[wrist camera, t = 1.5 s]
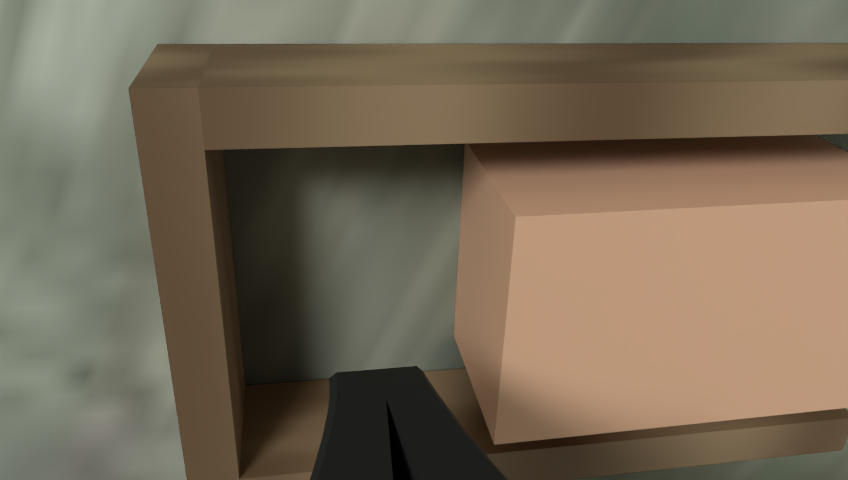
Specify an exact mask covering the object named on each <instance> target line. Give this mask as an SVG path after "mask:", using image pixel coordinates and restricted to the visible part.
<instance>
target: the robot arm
mask: <svg viewBox="0 0 848 480" xmlns="http://www.w3.org/2000/svg"><path fill="white" fill-rule="evenodd" d="M310 480H508V479H507V478H506V477H505V476H504V474H503V473H502V472H501V471H500V470H499V469H498V468H497V467H496V466H495V465H494V463H493V462H492V461H491V460H490V459H489V458H488V456H487V455H486V454H485V453H484V452H483V450H482V449H481V448H480V447H479V446H478V445H477V443H476V442H475V441H474V440H473V439H472V438H471V436H470V435H469V434H468V433H467V431H466V430H465V429H464V428H463V426H462V425H461V424H460V423H459V421H458V420H457V419H456V417H455V416H454V415H453V413H452V412H451V411H450V410H449V408H448V407H447V406H446V404H445V403H444V401H443V400H442V399H441V397H440V396H439V394H438V393H437V392H436V390H435V389H434V387H433V386H432V384H431V383H430V381H429V380H428V378H427V377H426V375H425V374H424V372H423V371H422V370H420V369H419V368H418V367H417V366H413V367H401V368H388V369H376V370H363V371H351V372H338V373H336V374H335V375H333V376H332V377H331V378H330V379H329V405H328V412H327V417H326V422H325V427H324V431H323V436H322V440H321V443H320V447H319V450H318V454H317V457H316V461H315V464H314V468H313V471H312V474H311V477H310Z"/></svg>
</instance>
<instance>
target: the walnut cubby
mask: <svg viewBox="0 0 848 480" xmlns="http://www.w3.org/2000/svg"><path fill="white" fill-rule="evenodd" d="M129 95H130V102H131V109H132V115H133V122H134V129H135V135H136V142H137V149H138V155H139V162H140V169H141V176H142V182H143V189H144V196H145V202H146V209H147V216H148V222H149V229H150V236H151V242H152V249H153V256H154V263H155V269H156V276H157V283H158V289H159V296H160V303H161V309H162V316H163V323H164V329H165V336H166V343H167V350H168V356H169V363H170V370H171V376H172V383H173V390H174V396H175V403H176V410H177V416H178V423H179V430H180V436H181V443H182V450H183V457H184V463H185V470H186V477H187V480H310V477H311V474H312V471H313V468H314V464H315V461H316V457H317V454H318V450H319V447H320V443H321V440H322V436H323V431H324V427H325V422H326V417H327V412H328V405H329V379H323V380H310V381H297V382H285V383H272V384H259V385H247V386H245V378H244V367H243V356H242V345H241V335H240V324H239V313H238V303H237V292H236V281H235V271H234V260H233V249H232V238H231V228H230V217H229V206H228V196H227V185H226V174H225V163H224V153H223V150H228V149H268V148H307V147H347V146H386V145H425V144H465V143H504V142H544V141H583V140H623V139H662V138H701V137H741V136H780V135H820V134H848V43H644V44H157V46H156V47H155V49H154V50H153V52H152V54H151V55H150V57H149V58H148V60H147V61H146V63H145V64H144V66H143V67H142V69H141V70H140V72H139V73H138V75H137V76H136V78H135V79H134V81H133V82H132V84H131V86H130V87H129ZM424 374H425V375H426V377H427V378H428V380H429V381H430V383H431V384H432V386H433V387H434V389H435V390H436V392H437V393H438V394H439V396H440V397H441V399H442V400H443V401H444V403H445V404H446V406H447V407H448V408H449V410H450V411H451V412H452V413H453V415H454V416H455V417H456V419H457V420H458V421H459V423H460V424H461V425H462V426H463V428H464V429H465V430H466V431H467V433H468V434H469V435H470V436H471V438H472V439H473V440H474V441H475V442H476V443H477V445H478V446H479V447H480V448H481V449H482V450H483V452H484V453H485V454H486V455H487V456H488V458H489V459H490V460H491V461H492V462H493V463H494V465H495V466H496V467H497V468H498V469H499V470H500V471H501V472H502V473H503V474H504V476H505V477H506V478H507V479H508V480H570V479H580V478H589V477H598V476H607V475H617V474H626V473H635V472H644V471H654V470H663V469H672V468H682V467H691V466H700V465H709V464H719V463H728V462H737V461H746V460H756V459H765V458H774V457H783V456H793V455H802V454H811V453H820V452H830V451H839V450H842V449H843V446H844V444H845V441H846V439H847V436H848V411H847V410H846V409H845V408H841V409H832V410H822V411H812V412H803V413H793V414H784V415H774V416H765V417H755V418H745V419H736V420H726V421H717V422H707V423H698V424H688V425H679V426H669V427H659V428H650V429H640V430H631V431H621V432H612V433H602V434H592V435H583V436H573V437H564V438H554V439H545V440H535V441H525V442H516V443H506V444H497V445H494V443H493V440H492V438H491V435H490V432H489V430H488V427H487V424H486V421H485V419H484V416H483V413H482V410H481V408H480V405H479V402H478V400H477V397H476V394H475V391H474V389H473V386H472V383H471V381H470V378H469V375H468V372H467V370H466V368H462V369H450V370H437V371H424Z"/></svg>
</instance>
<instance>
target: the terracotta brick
mask: <svg viewBox="0 0 848 480" xmlns="http://www.w3.org/2000/svg"><path fill="white" fill-rule="evenodd" d="M454 337H455V340H456V343H457V345H458V348H459V351H460V353H461V356H462V359H463V362H464V364H465V367H466V370H467V372H468V375H469V378H470V381H471V383H472V386H473V389H474V391H475V394H476V397H477V400H478V402H479V405H480V408H481V410H482V413H483V416H484V419H485V421H486V424H487V427H488V430H489V432H490V435H491V438H492V440H493V443H494V445H497V444H506V443H516V442H525V441H535V440H545V439H554V438H564V437H573V436H583V435H592V434H602V433H612V432H621V431H631V430H640V429H650V428H659V427H669V426H679V425H688V424H698V423H707V422H717V421H726V420H736V419H745V418H755V417H765V416H774V415H784V414H793V413H803V412H812V411H822V410H832V409H841V408H848V152H847V151H845V150H843V149H841V148H839V147H837V146H835V145H833V144H831V143H829V142H827V141H825V140H823V139H821V138H819V137H818V136H816V135H780V136H741V137H701V138H662V139H623V140H583V141H544V142H504V143H465V151H464V169H463V187H462V204H461V222H460V240H459V257H458V275H457V293H456V311H455V328H454Z"/></svg>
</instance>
